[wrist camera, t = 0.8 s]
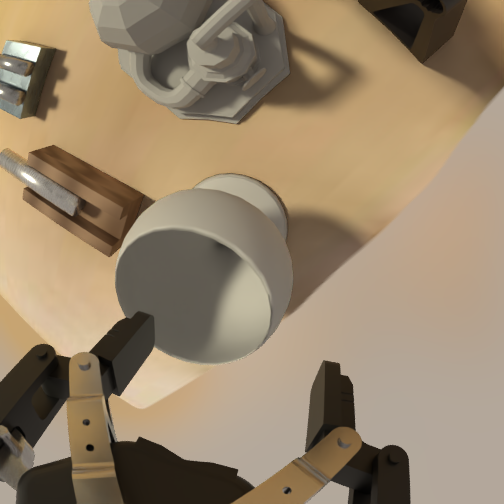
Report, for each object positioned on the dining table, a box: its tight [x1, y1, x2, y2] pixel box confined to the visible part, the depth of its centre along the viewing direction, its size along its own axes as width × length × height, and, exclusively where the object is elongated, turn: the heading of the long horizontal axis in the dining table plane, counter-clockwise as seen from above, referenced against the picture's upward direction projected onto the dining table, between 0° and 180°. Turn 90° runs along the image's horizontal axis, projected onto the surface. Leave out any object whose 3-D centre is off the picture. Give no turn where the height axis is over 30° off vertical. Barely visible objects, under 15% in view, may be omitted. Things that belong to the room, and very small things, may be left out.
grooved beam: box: [23, 145, 144, 257], centre depth 32 cm, size 16×7×5 cm, turn 62°
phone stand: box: [358, 0, 467, 63], centre depth 15 cm, size 9×6×12 cm, turn 48°
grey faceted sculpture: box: [89, 0, 290, 124], centre depth 18 cm, size 20×15×15 cm
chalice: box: [115, 173, 293, 365], centre depth 27 cm, size 14×14×15 cm
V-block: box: [0, 40, 56, 119], centre depth 25 cm, size 10×10×5 cm
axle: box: [0, 148, 86, 217], centre depth 29 cm, size 16×3×3 cm, turn 62°
